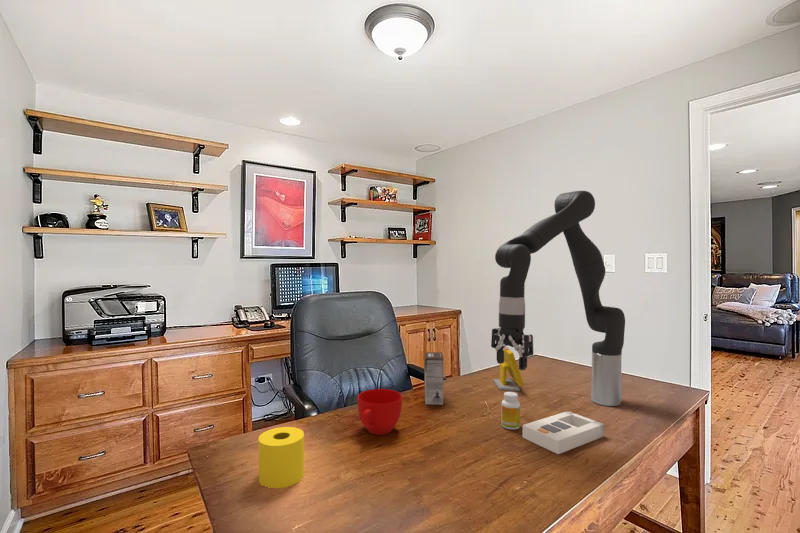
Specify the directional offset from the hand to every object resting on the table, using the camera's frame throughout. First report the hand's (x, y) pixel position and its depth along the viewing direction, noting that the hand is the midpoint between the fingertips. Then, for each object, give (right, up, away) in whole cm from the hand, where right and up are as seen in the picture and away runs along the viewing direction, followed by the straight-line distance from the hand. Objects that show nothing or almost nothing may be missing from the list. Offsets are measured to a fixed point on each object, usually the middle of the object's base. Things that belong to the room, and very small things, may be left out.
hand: (511, 366), depth 123 cm
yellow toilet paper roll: (-60, -19, -28) cm, 69 cm away
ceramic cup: (-40, -18, -4) cm, 44 cm away
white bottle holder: (+13, -18, -7) cm, 23 cm away
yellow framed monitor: (+9, -17, +39) cm, 44 cm away
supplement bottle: (0, -18, 0) cm, 18 cm away
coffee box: (-21, -18, +23) cm, 36 cm away
